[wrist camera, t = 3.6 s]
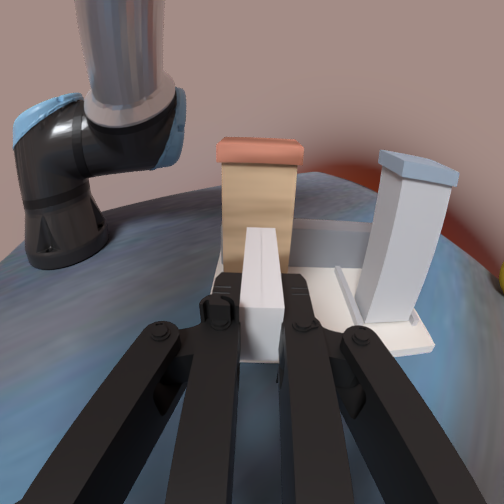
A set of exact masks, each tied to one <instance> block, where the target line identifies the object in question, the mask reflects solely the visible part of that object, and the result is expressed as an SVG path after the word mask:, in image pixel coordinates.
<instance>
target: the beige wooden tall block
mask: <svg viewBox="0 0 504 504" xmlns="http://www.w3.org/2000/svg"><path fill="white" fill-rule="evenodd" d="M216 147H217V151H216V152H217V162H222V232H223V271H224V272H232V273H242V272H243V262H244V252H245V241H246V231H247V227H257V228H275V230H276V238H277V246H278V254H279V263H280V271H281V273H288V264H289V255H290V245H291V235H292V225H293V214H294V202H295V190H296V177H297V165H303V153H304V147H303V146H302V145H300V144H299V143H298V142H297V141H296V140H293V139H275V138H274V139H273V138H251V137H224V138H223V139H222V140H221V141H220V142H219V143H218V144H217V146H216Z"/></svg>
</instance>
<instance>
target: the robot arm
mask: <svg viewBox="0 0 504 504" xmlns="http://www.w3.org/2000/svg"><path fill="white" fill-rule="evenodd" d="M74 2H75V9H76V16H77V22H78V28H79V34H80V39H81V45H82V50H83V55H84V59H85V64H86V68H87V73H88V77H89V81H90V85H91V89H90V90H89V92H88V93H87V95H86V97H85V100H84V98H83V97H82V94H81V93H71V94H65V95H62V96H59V97H57V98H52V99H49V100H46V101H44V102H41V103H40V104H37V105H35V106H33V107H31V108H29V109H27V110H26V111H25V112H23V113H22V114H20V115H19V116H18V118H17V119H16V120H15V122H14V125H13V150H14V155H15V162H16V168H17V175H18V180H19V186H20V191H21V196H22V200H23V205H24V210H25V251H26V254H27V257H28V260H29V263H30V264H31V265H32V266H33V267H35V268H38V269H56V268H62V267H66V266H69V265H72V264H75V263H77V262H80V261H82V260H84V259H86V258H88V257H90V256H91V255H93V254H94V253H96V252H97V251H99V250H100V249H101V248H102V247H103V246H104V245H105V244H106V242H107V240H108V238H109V234H108V229H107V224H106V221H105V219H104V217H103V215H102V213H101V211H100V210H99V208H98V206H97V204H96V202H95V200H94V198H93V196H92V194H91V191H90V185H89V178H90V177H96V176H102V175H109V174H117V173H125V172H133V171H144V170H155V169H156V168H162V167H168V166H172V165H174V164H175V163H176V162H177V161H178V159H179V157H180V154H181V151H182V146H183V140H184V127H185V121H186V95H185V91H184V90H183V89H181V88H177V87H175V83H174V81H173V79H172V77H171V76H170V75H169V74H168V73H167V72H165V71H163V28H164V7H165V0H74ZM199 308H200V316H201V323H200V324H199V325H196V326H194V327H191V328H186V329H179V330H178V328H177V326H176V325H175V324H173V323H171V322H167V321H159V322H154V323H152V324H150V325H148V326H147V327H146V328H145V329H144V330H143V331H142V332H141V334H140V335H139V336H138V338H137V339H136V340H135V341H134V343H133V344H132V345H131V346H130V348H129V349H128V350H127V352H126V353H125V354H124V355H123V357H122V358H121V359H120V361H119V362H118V363H117V365H116V366H115V367H114V368H113V370H112V371H111V372H110V374H109V375H108V376H107V378H106V379H105V380H104V382H103V383H102V384H101V386H100V387H99V388H98V390H97V391H96V392H95V394H94V395H93V396H92V398H91V399H90V400H89V402H88V403H87V405H86V406H85V407H84V409H83V410H82V411H81V413H80V414H79V416H78V417H77V418H76V420H75V421H74V423H73V424H72V425H71V427H70V428H69V430H68V431H67V432H66V434H65V435H64V437H63V438H62V439H61V441H60V442H59V444H58V445H57V447H56V448H55V450H54V451H53V452H52V454H51V455H50V457H49V458H48V460H47V461H46V463H45V464H44V466H43V467H42V469H41V470H40V472H39V473H38V475H37V476H36V478H35V479H34V481H33V482H32V484H31V485H30V487H29V489H28V490H27V492H26V493H25V495H24V496H23V498H22V500H20V501H18V502H17V503H15V504H123V503H124V501H125V499H126V498H127V496H128V494H129V492H130V490H131V488H132V487H133V485H134V483H135V481H136V479H137V477H138V476H139V474H140V472H141V470H142V468H143V466H144V465H145V463H146V461H147V459H148V457H149V455H150V454H151V452H152V450H153V448H154V446H155V444H156V443H157V441H158V439H159V437H160V435H161V433H162V431H163V430H164V428H165V426H166V424H167V422H168V420H169V419H170V417H171V415H172V413H173V411H174V409H175V407H176V406H177V404H178V402H179V400H180V398H181V396H182V394H183V393H184V391H185V389H186V393H185V398H184V403H183V408H182V413H181V418H180V423H179V428H178V433H177V438H176V443H175V448H174V454H173V459H172V465H171V470H170V476H169V482H168V488H167V494H166V500H165V504H232V487H233V470H234V454H235V438H236V422H237V406H238V391H239V375H240V360H261V361H278V356H279V367H278V374H277V380H276V383H278V387H279V412H280V441H281V478H282V504H354V497H353V489H352V482H351V475H350V468H349V462H348V455H347V449H346V443H345V437H344V431H343V426H342V420H341V415H340V411H341V413H342V415H343V417H344V419H345V421H346V423H347V425H348V427H349V429H350V431H351V433H352V435H353V437H354V439H355V442H356V444H357V446H358V448H359V450H360V452H361V454H362V456H363V458H364V460H365V462H366V464H367V466H368V468H369V470H370V472H371V475H372V477H373V479H374V481H375V483H376V485H377V487H378V489H379V491H380V493H381V495H382V497H383V500H384V502H385V504H487V503H486V502H485V500H484V498H483V496H482V494H481V492H480V491H479V489H478V487H477V485H476V483H475V482H474V480H473V478H472V476H471V475H470V473H469V471H468V470H467V468H466V466H465V464H464V463H463V461H462V459H461V458H460V456H459V454H458V453H457V451H456V450H455V448H454V446H453V445H452V443H451V442H450V440H449V438H448V437H447V435H446V434H445V432H444V430H443V429H442V427H441V426H440V424H439V423H438V421H437V420H436V418H435V417H434V415H433V414H432V412H431V410H430V409H429V407H428V406H427V404H426V403H425V402H424V400H423V399H422V397H421V396H420V394H419V393H418V391H417V390H416V388H415V387H414V385H413V384H412V382H411V381H410V380H409V378H408V377H407V375H406V374H405V372H404V371H403V370H402V368H401V367H400V365H399V364H398V363H397V361H396V360H395V358H394V357H393V356H392V354H391V353H390V351H389V350H388V349H387V347H386V346H385V345H384V343H383V342H382V341H381V339H380V338H379V336H378V335H377V334H376V333H375V332H374V331H373V330H372V329H370V328H368V327H366V326H361V325H355V326H351V327H348V328H347V329H346V330H345V331H344V333H340V332H335V331H332V330H328V329H326V328H324V327H322V325H321V323H320V321H319V320H318V319H317V318H315V316H314V311H313V307H312V302H311V298H310V295H309V290H308V285H307V281H306V279H305V278H304V277H303V276H302V275H301V274H292V273H281V271H280V263H279V254H278V246H277V238H276V230H275V228H257V227H247V231H246V241H245V252H244V262H243V272H242V273H232V272H221V273H220V274H219V275H218V276H217V277H216V278H215V282H214V287H213V290H212V294H211V295H208V296H206V297H205V298H203V299H202V300H201V302H200V303H199ZM186 387H187V388H186ZM339 409H340V410H339Z"/></svg>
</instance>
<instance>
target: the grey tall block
mask: <svg viewBox="0 0 504 504" xmlns="http://www.w3.org/2000/svg"><path fill="white" fill-rule="evenodd" d="M378 163H379V164H381V165H382V172H381V179H380V185H379V192H378V197H377V202H376V208H375V213H374V218H373V223H372V228H371V233H370V237H369V242H368V246H367V250H366V255H365V259H364V263H363V267H362V271H361V275H360V279H359V282H358V286H357V290H356V293H355V297H354V298H355V300H356V303H357V305H358V308H359V310H360V313H361V315H362V318H363V320H364V323H379V322H397V321H408V320H409V317H410V315H411V313H412V310H413V308H414V306H415V303H416V301H417V298H418V296H419V293H420V291H421V288H422V286H423V283H424V280H425V278H426V275H427V272H428V269H429V267H430V264H431V261H432V258H433V255H434V252H435V249H436V245H437V242H438V239H439V236H440V232H441V229H442V225H443V221H444V218H445V214H446V210H447V206H448V202H449V197H450V193H451V188H452V186H455V187H456V186H457V183H458V178H459V172H457V171H455V170H453V169H451V168H449V167H446V166H444V165H442V164H440V163H438V162H435V161H433V160H431V159H426V158H422V157H417V156H412V155H407V154H401V153H396V152H390V151H385V150H380V154H379V161H378Z"/></svg>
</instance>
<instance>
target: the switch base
mask: <svg viewBox="0 0 504 504" xmlns="http://www.w3.org/2000/svg"><path fill="white" fill-rule="evenodd" d="M371 228H372V223H364V222H349V221H333V220H316V219H296V218H293V225H292V235H291V245H290V255H289V264H288V273H292V274H301V275H302V276H303V277H304V278H305V279H306V281H307V285H308V290H309V295H310V298H311V302H312V307H313V311H314V316H315V318H317V319H318V320H319V321H320V323H321V325H322V327H324V328H326V329H328V330H332V331H335V332H340V333H344V331H345V330H346V329H347V328H348V327H351V326H355V325H361V326H366V327H368V328H370V329H372V330H373V331H374V332H375V333H376V334H377V335H378V336H379V338H380V339H381V341H382V342H383V343H384V345H385V346H386V347H387V349H388V350H389V351H390V353H391V354H392V356H393V357H400V356H408V355H415V354H422V353H429V352H431V351H432V350H433V348H434V346H435V344H434V342H433V340H432V338H431V337H430V335H429V333H428V331H427V329H426V328H425V326H424V324H423V322H422V321H421V319H420V317H419V316H418V314H417V312H416V310H415V309H414V308H413V310H412V313H411V315H410V317H409V320H408V321H397V322H379V323H364V320H363V318H362V315H361V313H360V310H359V308H358V305H357V303H356V300H355V298H354V297H355V293H356V290H357V286H358V282H359V279H360V275H361V271H362V267H363V263H364V259H365V255H366V250H367V246H368V242H369V237H370V233H371ZM221 272H224V271H223V232H222V223H221V252H220V256H219V260H218V264H217V268H216V272H215V276H214V281H213V285H212V289H211V293H210V295H211V294H212V290H213V287H214V282H215V278H216V277H217V276H218V275H219V274H220V273H221ZM240 362H249V363H279V356H278V361H261V360H240Z"/></svg>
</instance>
